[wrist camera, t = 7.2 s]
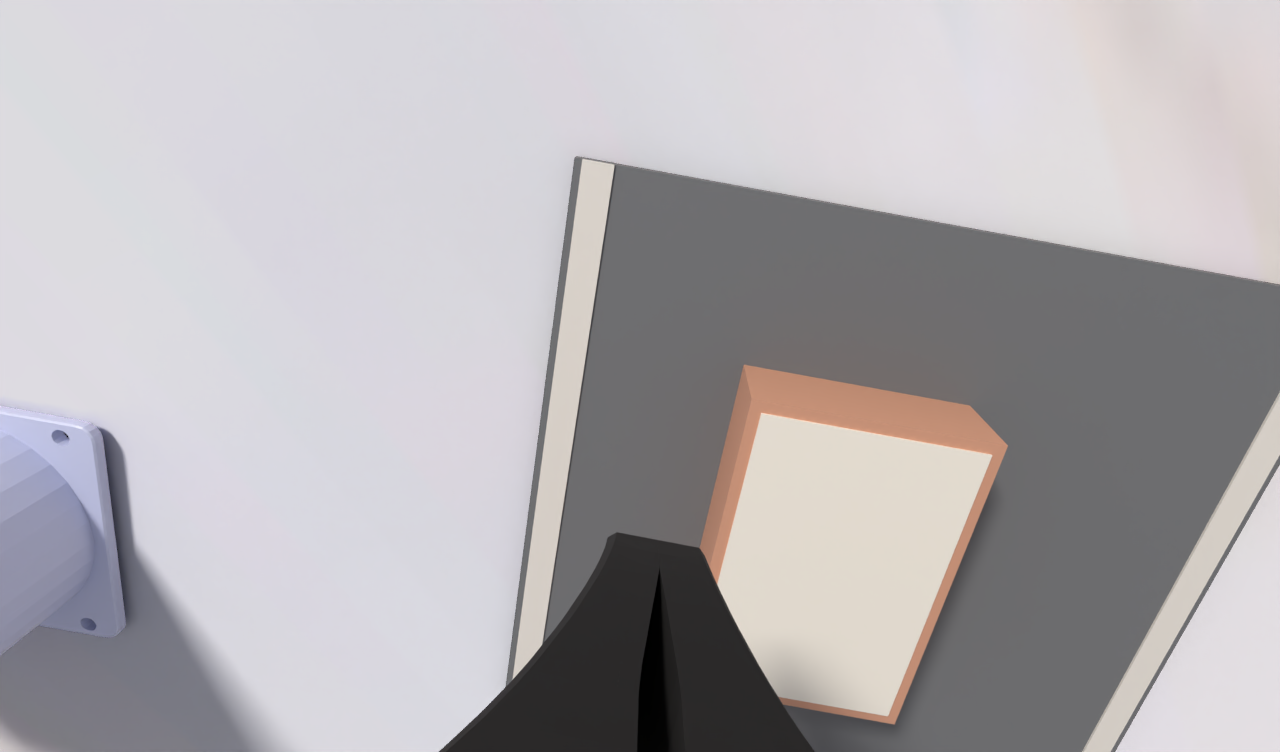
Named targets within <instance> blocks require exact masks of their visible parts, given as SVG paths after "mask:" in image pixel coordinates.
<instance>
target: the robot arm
mask: <svg viewBox="0 0 1280 752" xmlns="http://www.w3.org/2000/svg"><path fill="white" fill-rule="evenodd" d="M64 432H65V433H66V434H67V435H68V437H69V438H67V437H66V436H65V435H64ZM37 626H43V627H49V628H54V629H60V630H66V631H71V632H77V633H82V634H88V635H94V636H99V637H105V638H112V637H115V636H117V635H118V634H119V633H120V632H121V631H122V630H123V629H124V628H125V626H126V619H125V611H124V603H123V595H122V587H121V579H120V571H119V563H118V555H117V547H116V539H115V530H114V522H113V514H112V506H111V498H110V490H109V482H108V474H107V466H106V458H105V450H104V442H103V437H102V434H101V432H100V431H99V429H98V428H97V427H96V426H94V425H93V424H92V423H89V422H86V421H82V420H77V419H71V418H66V417H60V416H55V415H49V414H43V413H38V412H32V411H27V410H21V409H16V408H10V407H5V406H0V656H1V655H2V654H3V653H4V652H6V651H7V650H8V649H9V648H11V647H12V646H13V645H14V644H16V643H17V642H18V641H19V640H21V639H22V638H23V637H24V636H26V635H27V634H28V633H29V632H31V631H32V630H33V629H34V628H36V627H37ZM439 752H815V751H814V750H813V748H812V747H811V745H810V744H809V743H808V741H807V740H806V738H805V737H804V735H803V734H802V733H801V731H800V730H799V728H798V727H797V725H796V724H795V722H794V721H793V719H792V718H791V716H790V715H789V713H788V712H787V710H786V708H785V707H784V705H783V704H782V702H781V700H780V699H779V697H778V696H777V694H776V692H775V691H774V689H773V688H772V686H771V685H770V683H769V681H768V680H767V678H766V676H765V674H764V673H763V671H762V669H761V668H760V666H759V664H758V663H757V661H756V659H755V657H754V655H753V653H752V652H751V650H750V648H749V646H748V644H747V643H746V641H745V639H744V637H743V635H742V633H741V632H740V630H739V628H738V626H737V624H736V622H735V620H734V618H733V616H732V614H731V612H730V610H729V608H728V606H727V604H726V602H725V600H724V598H723V596H722V594H721V592H720V590H719V587H718V585H717V583H716V581H715V579H714V576H713V574H712V572H711V569H710V567H709V565H708V562H707V560H706V558H705V555H704V554H703V552H702V551H701V549H700V548H698V547H693V546H687V545H682V544H677V543H671V542H666V541H661V540H656V539H650V538H645V537H640V536H634V535H629V534H624V533H619V532H616V533H614V534H613V535H611V536H609V537H608V538H607V542H606V546H605V548H604V551H603V553H602V556H601V558H600V560H599V562H598V564H597V566H596V568H595V569H594V571H593V573H592V575H591V576H590V578H589V580H588V582H587V583H586V585H585V587H584V588H583V590H582V591H581V593H580V594H579V595H578V597H577V598H576V600H575V601H574V603H573V604H572V606H571V607H570V609H569V610H568V612H567V613H566V615H565V616H564V618H563V619H562V620H561V622H560V623H559V624H558V626H557V627H556V628H555V629H554V631H553V632H552V633H551V634H550V636H549V637H548V638H547V639H546V641H545V642H544V643H543V644H542V646H541V647H540V648H539V649H538V651H537V652H536V653H535V654H534V656H533V657H532V658H531V659H530V661H529V662H528V663H527V664H526V665H525V666H524V667H523V669H522V670H521V671H520V672H519V673H518V674H517V675H516V676H515V678H514V679H513V680H512V681H511V682H510V683H509V684H508V685H507V686H506V687H505V688H504V690H503V691H502V692H501V693H500V694H499V695H498V696H497V697H496V698H495V699H494V700H493V701H492V702H491V703H490V704H489V705H488V706H487V707H486V708H485V709H484V710H483V711H482V712H481V713H480V714H479V715H478V716H477V717H476V718H475V719H474V720H473V721H472V722H470V723H469V724H468V725H467V726H466V727H465V728H464V729H463V730H462V731H461V732H460V733H459V734H458V735H457V736H455V737H454V738H453V739H452V740H451V741H450V742H449V743H448V744H447V745H446V746H445V747H444V748H443V749H441V750H440V751H439Z"/></svg>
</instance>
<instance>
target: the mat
mask: <svg viewBox="0 0 1280 752" xmlns="http://www.w3.org/2000/svg"><path fill="white" fill-rule="evenodd" d="M744 365H749V366H754V367H760V368H765V369H771V370H777V371H782V372H788V373H793V374H799V375H804V376H810V377H815V378H821V379H826V380H832V381H837V382H843V383H848V384H854V385H859V386H865V387H870V388H876V389H881V390H887V391H892V392H898V393H903V394H909V395H914V396H920V397H925V398H931V399H936V400H942V401H947V402H953V403H958V404H964V405H969V406H971V407H972V408H973V409H974V410H975V411H976V413H977V414H978V415H979V416H980V417H981V418H982V419H983V420H984V421H985V422H986V423H987V424H988V425H989V426H990V427H991V428H992V429H993V430H994V431H995V432H996V434H997V435H998V436H999V437H1000V438H1001V439H1002V440H1003V441H1004V442H1005V443H1006V444H1007V445H1008V447H1007V450H1006V452H1005V455H1004V457H1003V459H1002V462H1001V464H1000V467H999V469H998V472H997V474H996V477H995V479H994V482H993V484H992V486H991V489H990V491H989V494H988V496H987V499H986V501H985V504H984V506H983V509H982V511H981V513H980V516H979V518H978V521H977V523H976V526H975V528H974V531H973V533H972V536H971V538H970V541H969V543H968V545H967V548H966V550H965V553H964V555H963V558H962V560H961V563H960V565H959V568H958V570H957V572H956V575H955V577H954V580H953V582H952V585H951V587H950V590H949V592H948V595H947V597H946V599H945V602H944V604H943V607H942V609H941V612H940V614H939V617H938V619H937V622H936V624H935V626H934V629H933V631H932V634H931V636H930V639H929V641H928V644H927V646H926V649H925V651H924V653H923V656H922V658H921V661H920V663H919V666H918V668H917V671H916V673H915V676H914V678H913V680H912V683H911V685H910V688H909V690H908V693H907V695H906V698H905V700H904V703H903V705H902V707H901V710H900V712H899V715H898V717H897V720H896V722H895V724H889V723H884V722H878V721H873V720H867V719H861V718H856V717H850V716H845V715H839V714H833V713H828V712H822V711H817V710H811V709H805V708H800V707H794V706H789V705H784V707H785V708H786V710H787V712H788V713H789V715H790V716H791V718H792V719H793V721H794V722H795V724H796V725H797V727H798V728H799V730H800V731H801V733H802V734H803V735H804V737H805V738H806V740H807V741H808V743H809V744H810V745H811V747H812V748H813V750H814V751H815V752H1115V751H1116V749H1117V747H1118V746H1119V744H1120V742H1121V740H1122V739H1123V737H1124V735H1125V733H1126V732H1127V730H1128V728H1129V726H1130V725H1131V723H1132V721H1133V719H1134V718H1135V716H1136V714H1137V712H1138V711H1139V709H1140V707H1141V705H1142V704H1143V702H1144V700H1145V698H1146V697H1147V695H1148V693H1149V692H1150V690H1151V688H1152V686H1153V685H1154V683H1155V681H1156V679H1157V678H1158V676H1159V674H1160V672H1161V671H1162V669H1163V667H1164V665H1165V664H1166V662H1167V660H1168V658H1169V657H1170V655H1171V653H1172V651H1173V650H1174V648H1175V646H1176V644H1177V643H1178V641H1179V639H1180V637H1181V636H1182V634H1183V632H1184V630H1185V629H1186V627H1187V625H1188V623H1189V622H1190V620H1191V618H1192V616H1193V615H1194V613H1195V611H1196V610H1197V608H1198V606H1199V604H1200V603H1201V601H1202V599H1203V597H1204V596H1205V594H1206V592H1207V590H1208V589H1209V587H1210V585H1211V583H1212V582H1213V580H1214V578H1215V576H1216V575H1217V573H1218V571H1219V569H1220V568H1221V566H1222V564H1223V562H1224V561H1225V559H1226V557H1227V555H1228V554H1229V552H1230V550H1231V548H1232V547H1233V545H1234V543H1235V541H1236V540H1237V538H1238V536H1239V535H1240V533H1241V531H1242V529H1243V528H1244V526H1245V524H1246V522H1247V521H1248V519H1249V517H1250V515H1251V514H1252V512H1253V510H1254V508H1255V507H1256V505H1257V503H1258V501H1259V500H1260V498H1261V496H1262V494H1263V493H1264V491H1265V489H1266V487H1267V486H1268V484H1269V482H1270V480H1271V479H1272V477H1273V475H1274V473H1275V472H1276V470H1277V468H1278V466H1279V465H1280V285H1279V284H1273V283H1268V282H1262V281H1257V280H1251V279H1246V278H1240V277H1235V276H1229V275H1224V274H1218V273H1213V272H1207V271H1202V270H1196V269H1191V268H1186V267H1180V266H1175V265H1169V264H1164V263H1158V262H1153V261H1147V260H1142V259H1136V258H1131V257H1125V256H1120V255H1114V254H1109V253H1103V252H1098V251H1092V250H1087V249H1082V248H1076V247H1071V246H1065V245H1060V244H1054V243H1049V242H1043V241H1038V240H1032V239H1027V238H1021V237H1016V236H1010V235H1005V234H999V233H994V232H989V231H983V230H978V229H972V228H967V227H961V226H956V225H950V224H945V223H939V222H934V221H928V220H923V219H917V218H912V217H906V216H901V215H896V214H890V213H885V212H879V211H874V210H868V209H863V208H857V207H852V206H846V205H841V204H835V203H830V202H824V201H819V200H813V199H808V198H803V197H797V196H792V195H786V194H781V193H775V192H770V191H764V190H759V189H753V188H748V187H742V186H737V185H731V184H726V183H720V182H715V181H709V180H704V179H699V178H693V177H688V176H682V175H677V174H671V173H666V172H660V171H655V170H649V169H644V168H638V167H633V166H627V165H622V164H616V163H611V162H606V161H600V160H595V159H589V158H584V157H578V156H577V157H575V159H574V167H573V174H572V182H571V190H570V197H569V205H568V213H567V220H566V228H565V236H564V243H563V251H562V259H561V267H560V274H559V282H558V290H557V297H556V305H555V313H554V320H553V328H552V336H551V343H550V351H549V359H548V366H547V374H546V382H545V389H544V397H543V405H542V412H541V420H540V428H539V435H538V443H537V451H536V458H535V466H534V474H533V481H532V489H531V497H530V504H529V512H528V520H527V527H526V535H525V543H524V550H523V558H522V566H521V573H520V581H519V589H518V596H517V604H516V612H515V619H514V627H513V635H512V642H511V650H510V658H509V665H508V673H507V681H506V686H507V685H508V684H509V683H510V682H511V681H512V680H513V679H514V678H515V676H516V675H517V674H518V673H519V672H520V671H521V670H522V669H523V667H524V666H525V665H526V664H527V663H528V662H529V661H530V659H531V658H532V657H533V656H534V654H535V653H536V652H537V651H538V649H539V648H540V647H541V646H542V644H543V643H544V642H545V641H546V639H547V638H548V637H549V636H550V634H551V633H552V632H553V631H554V629H555V628H556V627H557V626H558V624H559V623H560V622H561V620H562V619H563V618H564V616H565V615H566V613H567V612H568V610H569V609H570V607H571V606H572V604H573V603H574V601H575V600H576V598H577V597H578V595H579V594H580V593H581V591H582V590H583V588H584V587H585V585H586V583H587V582H588V580H589V578H590V576H591V575H592V573H593V571H594V569H595V568H596V566H597V564H598V562H599V560H600V558H601V556H602V553H603V551H604V548H605V546H606V542H607V538H608V537H609V536H611V535H613V534H614V533H616V532H619V533H624V534H629V535H634V536H640V537H645V538H650V539H656V540H661V541H666V542H671V543H677V544H682V545H687V546H693V547H698V548H700V545H701V540H702V536H703V532H704V528H705V524H706V520H707V515H708V511H709V507H710V503H711V499H712V495H713V490H714V486H715V482H716V478H717V474H718V470H719V466H720V461H721V457H722V453H723V449H724V445H725V441H726V436H727V432H728V428H729V424H730V420H731V416H732V411H733V407H734V403H735V399H736V395H737V391H738V386H739V382H740V378H741V374H742V370H743V366H744Z"/></svg>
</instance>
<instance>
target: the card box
mask: <svg viewBox="0 0 1280 752" xmlns="http://www.w3.org/2000/svg"><path fill="white" fill-rule="evenodd" d="M1007 447H1008V445H1007V444H1006V443H1005V442H1004V441H1003V440H1002V439H1001V438H1000V437H999V436H998V435H997V434H996V432H995V431H994V430H993V429H992V428H991V427H990V426H989V425H988V424H987V423H986V422H985V421H984V420H983V419H982V418H981V417H980V416H979V415H978V414H977V413H976V411H975V410H974V409H973V408H972V407H971V406H969V405H964V404H958V403H953V402H947V401H942V400H936V399H931V398H925V397H920V396H914V395H909V394H903V393H898V392H892V391H887V390H881V389H876V388H870V387H865V386H859V385H854V384H848V383H843V382H837V381H832V380H826V379H821V378H815V377H810V376H804V375H799V374H793V373H788V372H782V371H777V370H771V369H765V368H760V367H754V366H749V365H744V366H743V370H742V374H741V378H740V382H739V386H738V391H737V395H736V399H735V403H734V407H733V411H732V416H731V420H730V424H729V428H728V432H727V436H726V441H725V445H724V449H723V453H722V457H721V461H720V466H719V470H718V474H717V478H716V482H715V486H714V490H713V495H712V499H711V503H710V507H709V511H708V515H707V520H706V524H705V528H704V532H703V536H702V540H701V545H700V549H701V551H702V552H703V554H704V555H705V558H706V560H707V562H708V565H709V567H710V569H711V572H712V574H713V576H714V579H715V581H716V583H717V585H718V587H719V590H720V592H721V594H722V596H723V598H724V600H725V602H726V604H727V606H728V608H729V610H730V612H731V614H732V616H733V618H734V620H735V622H736V624H737V626H738V628H739V630H740V632H741V633H742V635H743V637H744V639H745V641H746V643H747V644H748V646H749V648H750V650H751V652H752V653H753V655H754V657H755V659H756V661H757V663H758V664H759V666H760V668H761V669H762V671H763V673H764V674H765V676H766V678H767V680H768V681H769V683H770V685H771V686H772V688H773V689H774V691H775V692H776V694H777V696H778V697H779V699H780V700H781V702H782V704H783V705H789V706H794V707H800V708H805V709H811V710H817V711H822V712H828V713H833V714H839V715H845V716H850V717H856V718H861V719H867V720H873V721H878V722H884V723H889V724H895V722H896V720H897V717H898V715H899V712H900V710H901V707H902V705H903V703H904V700H905V698H906V695H907V693H908V690H909V688H910V685H911V683H912V680H913V678H914V676H915V673H916V671H917V668H918V666H919V663H920V661H921V658H922V656H923V653H924V651H925V649H926V646H927V644H928V641H929V639H930V636H931V634H932V631H933V629H934V626H935V624H936V622H937V619H938V617H939V614H940V612H941V609H942V607H943V604H944V602H945V599H946V597H947V595H948V592H949V590H950V587H951V585H952V582H953V580H954V577H955V575H956V572H957V570H958V568H959V565H960V563H961V560H962V558H963V555H964V553H965V550H966V548H967V545H968V543H969V541H970V538H971V536H972V533H973V531H974V528H975V526H976V523H977V521H978V518H979V516H980V513H981V511H982V509H983V506H984V504H985V501H986V499H987V496H988V494H989V491H990V489H991V486H992V484H993V482H994V479H995V477H996V474H997V472H998V469H999V467H1000V464H1001V462H1002V459H1003V457H1004V455H1005V452H1006V450H1007Z"/></svg>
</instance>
